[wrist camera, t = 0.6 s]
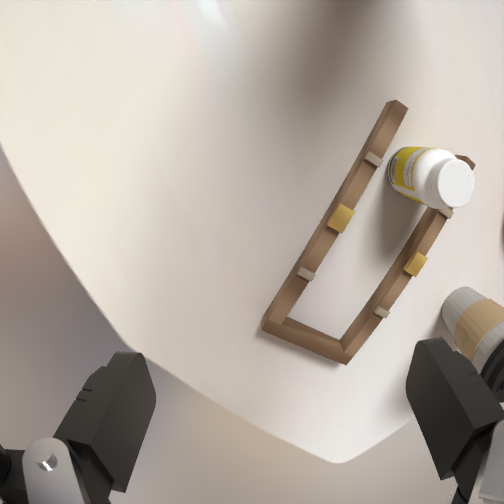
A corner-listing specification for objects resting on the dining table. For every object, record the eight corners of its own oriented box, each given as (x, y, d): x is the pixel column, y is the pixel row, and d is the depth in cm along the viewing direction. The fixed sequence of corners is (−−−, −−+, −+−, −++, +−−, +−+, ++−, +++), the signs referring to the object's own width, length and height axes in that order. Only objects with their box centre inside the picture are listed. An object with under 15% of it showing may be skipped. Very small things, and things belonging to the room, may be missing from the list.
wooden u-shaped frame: (386, 101, 28) (398, 98, 25) (463, 162, 30) (478, 165, 27) (261, 317, 37) (261, 332, 34) (342, 353, 38) (347, 368, 35)
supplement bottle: (437, 178, 31) (489, 194, 21) (402, 205, 32) (447, 230, 23) (414, 136, 29) (464, 138, 20) (376, 163, 31) (418, 174, 21)
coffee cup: (417, 316, 36) (472, 394, 22) (464, 259, 34) (539, 318, 20) (452, 346, 38) (502, 416, 24) (494, 296, 35) (557, 354, 21)
